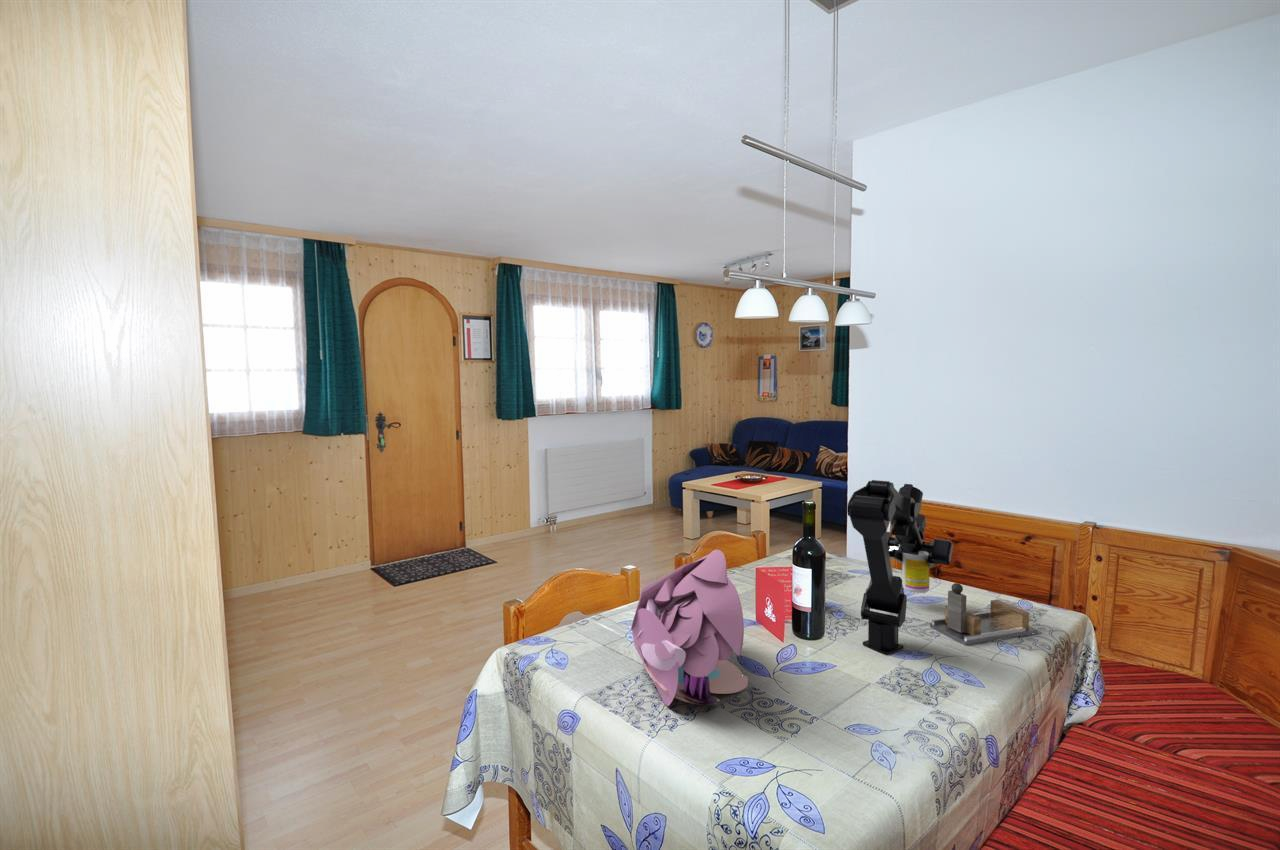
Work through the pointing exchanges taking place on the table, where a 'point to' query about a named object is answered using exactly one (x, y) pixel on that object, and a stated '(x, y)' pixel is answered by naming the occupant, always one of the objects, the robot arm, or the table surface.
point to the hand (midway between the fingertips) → (917, 563)
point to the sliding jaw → (960, 613)
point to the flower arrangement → (691, 632)
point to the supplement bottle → (915, 572)
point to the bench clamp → (991, 625)
